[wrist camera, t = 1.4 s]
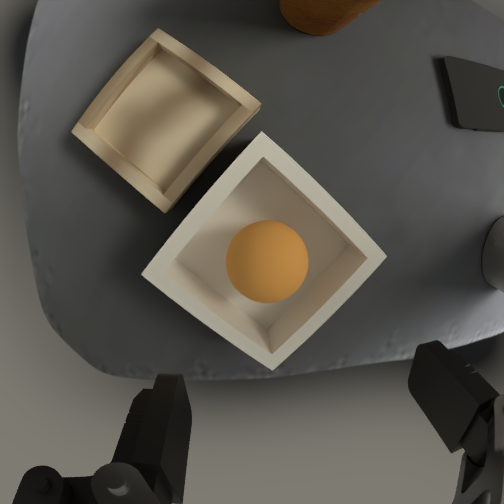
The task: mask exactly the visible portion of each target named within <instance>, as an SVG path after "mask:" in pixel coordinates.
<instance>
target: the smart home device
mask: <svg viewBox="0 0 504 504" xmlns="http://www.w3.org/2000/svg"><path fill="white" fill-rule="evenodd" d="M438 62H439V65H440V69H441V73H442V77H443V80H444V85H445V89H446V93H447V98H448V102H449V107H450V113H451V118H452V124H453V125H454V126H455V127H456V128H460V129H474V130H476V131H491V132H502V131H504V71H503V70H500V69H497V68H493V67H490V66H487V65H483V64H480V63H476V62H472V61H468V60H464V59H460V58H455V57H451V56H446V57H444V58H441V59H439V61H438Z"/></svg>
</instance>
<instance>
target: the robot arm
mask: <svg viewBox="0 0 504 504" xmlns="http://www.w3.org/2000/svg"><path fill="white" fill-rule="evenodd" d="M482 269H483V274H484V277H485V279H486V281H487V282H488V283H489V284H490V285H492V286H494V287H496V288H497V289H499V290H501V291H502V292H504V216H503V217H501V218H500V219H498V220H497V221H496V222H495V224H494V225H493V226H492V228H491V230H490V232H489V234H488V236H487V239H486V242H485V245H484V249H483V256H482ZM408 387H409V391H410V393H411V394H412V396H413V398H414V399H415V400H416V402H417V403H418V405H419V406H420V408H421V409H422V411H423V412H424V413H425V415H426V416H427V418H428V419H429V421H430V422H431V424H432V425H433V427H434V428H435V430H436V431H437V433H438V434H439V436H440V437H441V438H442V440H443V441H444V443H445V445H446V446H447V448H448V449H449V451H450V452H451V453H453V452H455V451H457V450H459V449H461V448H464V450H465V452H464V453H463V455H462V460H461V466H460V472H459V478H458V483H457V488H456V493H455V497H454V500H453V503H452V504H504V394H501V395H500V394H498V392H497V391H496V390H495V389H494V388H493V387H492V386H491V385H490V384H489V383H488V382H487V381H486V380H485V379H484V378H483V377H482V376H481V375H480V374H479V373H478V372H476V370H475V369H474V368H473V367H472V366H469V363H468V362H467V361H466V360H465V359H464V358H463V357H462V356H460V355H458V354H456V353H454V352H452V351H450V350H448V349H447V348H446V347H445V346H444V345H443V344H442V343H441V342H440V341H438V340H435V341H432V342H428V343H424V344H420V345H419V346H418V347H417V349H416V352H415V356H414V360H413V364H412V367H411V370H410V374H409V378H408ZM191 426H192V412H191V406H190V402H189V399H188V395H187V391H186V387H185V383H184V379H183V376H182V374H158V375H157V377H156V380H155V384H154V387H153V389H143V390H142V391H141V392H140V393H139V394H138V395H137V396H136V397H135V398H134V399H133V402H132V405H131V407H130V410H129V413H128V415H127V418H126V423H125V424H124V427H123V429H122V433H121V435H120V438H119V441H118V444H117V447H116V450H115V453H114V456H113V459H112V461H111V463H109V464H106V465H104V466H102V467H100V468H99V469H98V470H97V471H96V472H95V473H94V475H93V476H87V477H61V475H60V474H59V473H58V472H57V471H56V470H55V469H53V468H51V467H48V466H36V467H33V468H31V469H30V470H28V471H27V472H26V473H25V474H24V476H23V478H22V480H21V483H20V485H19V487H18V490H17V493H16V495H15V498H14V500H13V503H12V504H172V503H175V504H182V503H183V495H184V485H185V476H186V467H187V459H188V449H189V441H190V434H191Z"/></svg>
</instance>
